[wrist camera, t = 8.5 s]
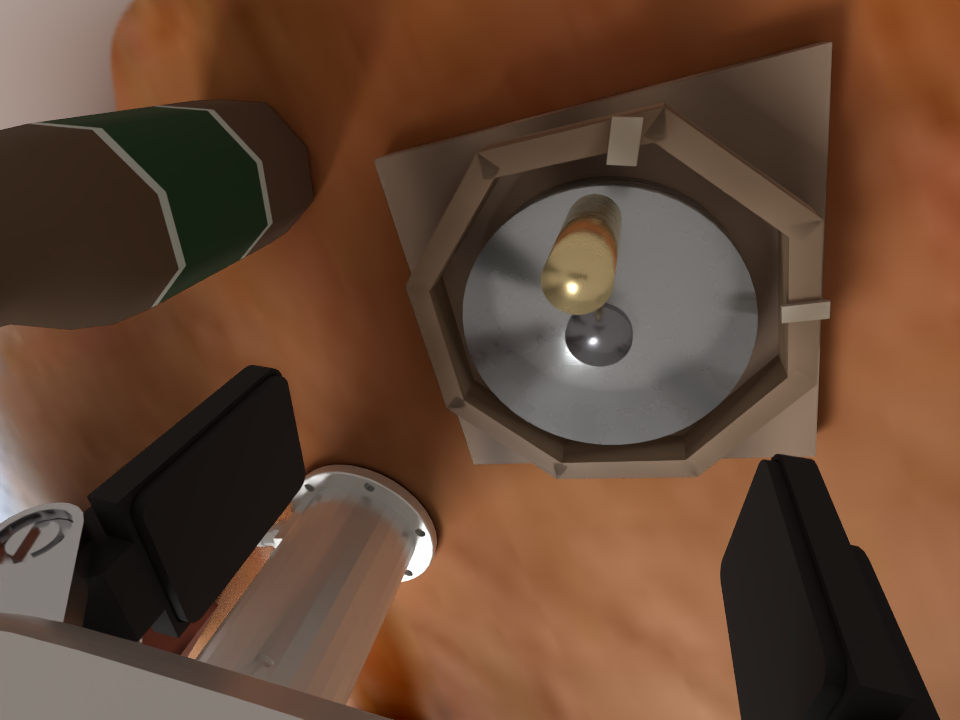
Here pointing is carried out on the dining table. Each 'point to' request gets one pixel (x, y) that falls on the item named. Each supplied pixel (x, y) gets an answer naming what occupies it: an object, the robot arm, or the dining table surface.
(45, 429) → the dining table surface
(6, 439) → the dining table surface
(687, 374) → the dial
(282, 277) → the dining table surface
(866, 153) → the dining table surface
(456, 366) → the dial housing
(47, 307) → the beer bottle
